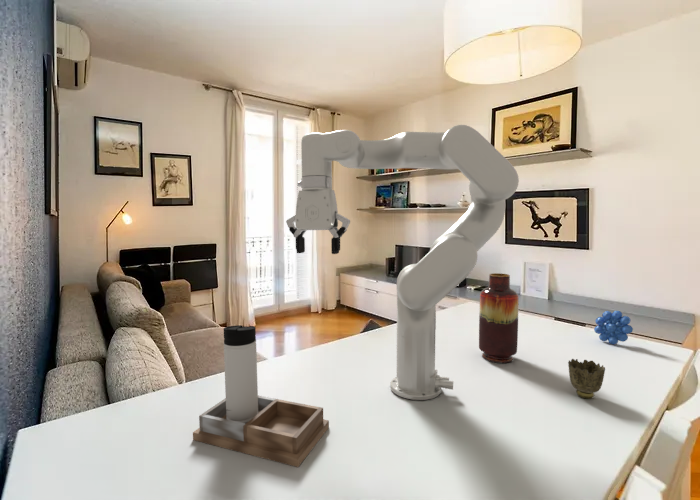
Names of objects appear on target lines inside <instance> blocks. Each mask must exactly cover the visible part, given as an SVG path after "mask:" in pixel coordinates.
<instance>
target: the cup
mask: <svg viewBox="0 0 700 500" xmlns="http://www.w3.org/2000/svg"><path fill="white" fill-rule="evenodd" d="M578 360H579V359H578V358H576V359H574V358H571V359H570V360H568V362H567V363H568V374H569V381H570V384H571V385H572V386H573V388H574V389H575V393H576V395H577V396H578V397H580V398H582V399H587V400H591V399H593V398H594V397H595V393H597V392H599V391H600V390H601V388H602V386H603V382H604V377H605V371H606V367H605V366H604V365H603V364H602V365H600V363H599V362H598V363H596V362H595V361H593V360H587V359H584V360H583V362H582V361H578Z"/></svg>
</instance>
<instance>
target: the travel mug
mask: <svg viewBox="0 0 700 500" xmlns="http://www.w3.org/2000/svg"><path fill="white" fill-rule="evenodd" d="M256 334H257V331H256V327H255V326H254V325H249V326H245V325H244V326H243V325H242V324H241V325H231V326H225V327H223V356H224V357H223V358H224V359H223V362H224V385H225V388H224V389H225V392H224V393H225V398H226V415H227V416H226V419H227V420H232V421H236V422H241V423H245V424H246V423H247V422H249V421H250V420H251V419H252V418H253V417H255V416H256V415H257V414H258V396H259V395H258V394H259V393H258V391H259V390H258V389H259V387H258V363H257V362H258V358H257V357H258V356H257V353H258V352H257V336H256Z"/></svg>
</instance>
